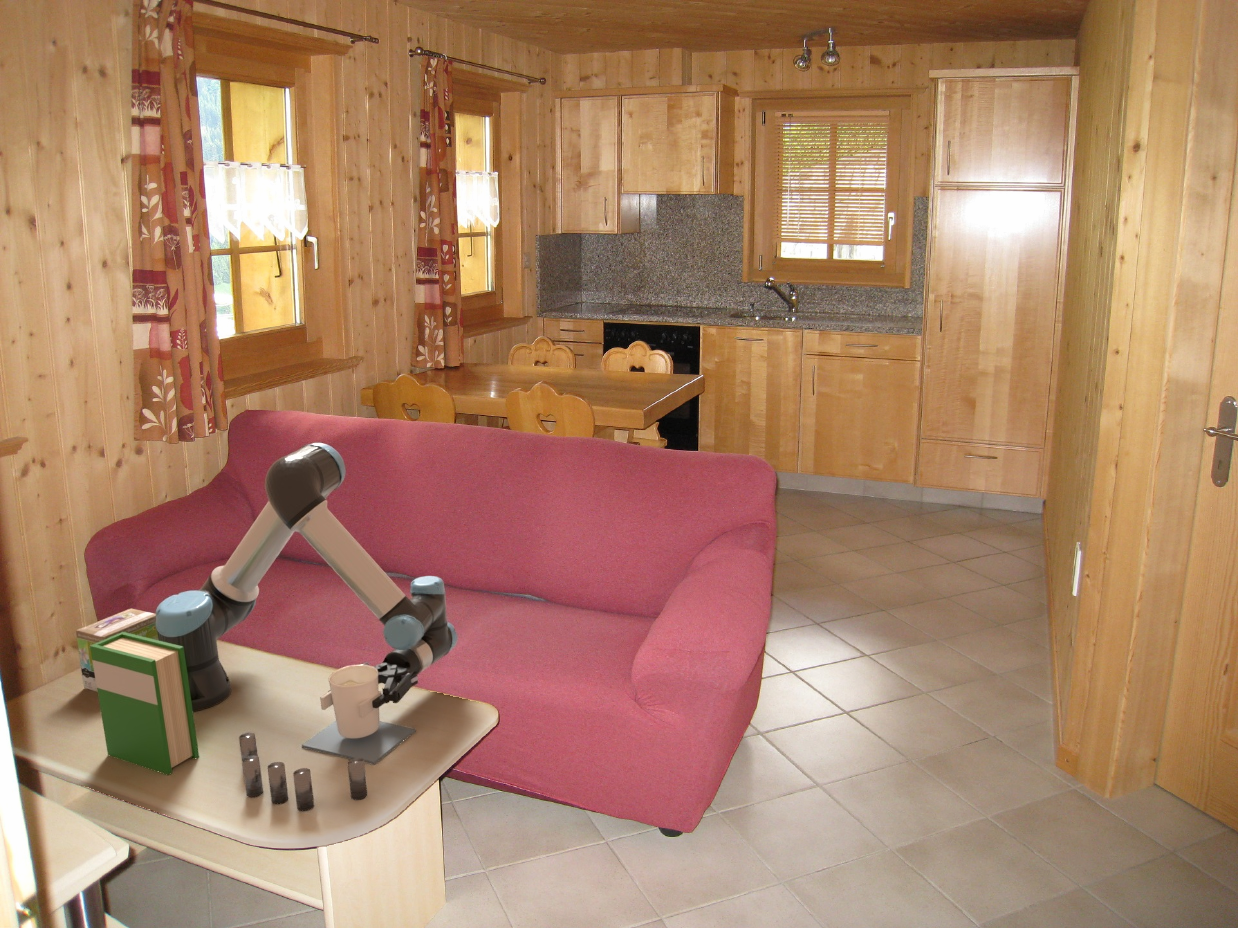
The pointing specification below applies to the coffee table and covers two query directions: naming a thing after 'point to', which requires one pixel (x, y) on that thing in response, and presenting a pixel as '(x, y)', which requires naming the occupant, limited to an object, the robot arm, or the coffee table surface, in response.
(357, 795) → the spacer posts
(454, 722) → the coffee table surface
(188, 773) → the coffee table surface
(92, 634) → the tea box
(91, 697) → the coffee table surface
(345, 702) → the candle holder
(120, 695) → the hardback book
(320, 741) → the mat
